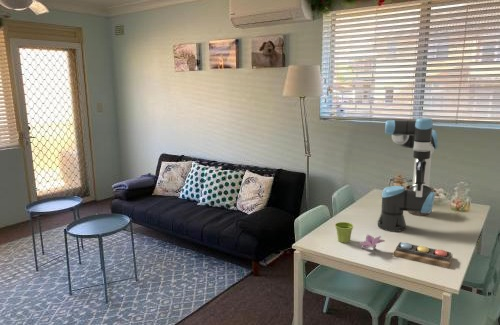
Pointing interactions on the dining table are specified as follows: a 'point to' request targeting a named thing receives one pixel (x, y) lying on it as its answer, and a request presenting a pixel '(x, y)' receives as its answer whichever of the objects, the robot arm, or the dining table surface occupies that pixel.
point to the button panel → (423, 256)
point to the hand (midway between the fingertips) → (418, 196)
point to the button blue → (406, 246)
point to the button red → (441, 253)
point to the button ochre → (423, 249)
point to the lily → (371, 241)
